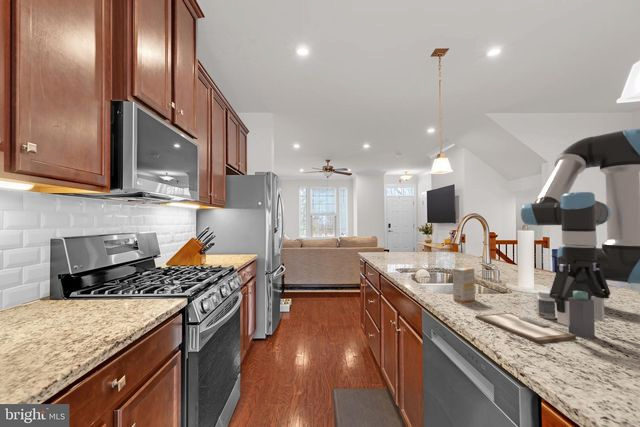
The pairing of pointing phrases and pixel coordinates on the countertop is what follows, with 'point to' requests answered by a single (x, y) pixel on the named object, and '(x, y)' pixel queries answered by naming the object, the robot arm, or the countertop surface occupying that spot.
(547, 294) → the pill bottle
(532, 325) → the brown rectangular tray
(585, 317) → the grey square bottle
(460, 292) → the supplement box
